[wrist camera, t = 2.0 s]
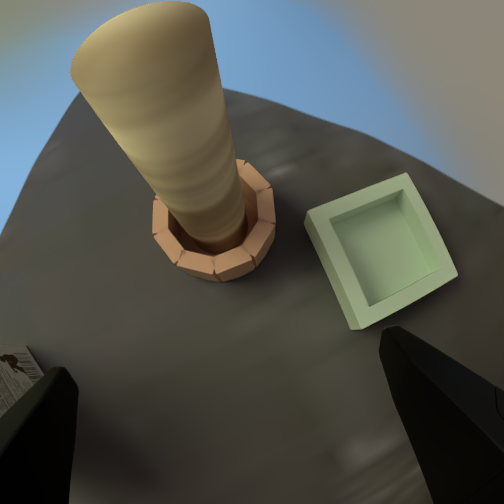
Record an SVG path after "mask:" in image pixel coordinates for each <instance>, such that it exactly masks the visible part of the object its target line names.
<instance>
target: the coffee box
mask: <svg viewBox="0 0 504 504" xmlns="http://www.w3.org/2000/svg"><path fill="white" fill-rule="evenodd" d="M43 376H44V373H43V372H42V370H41V369H40V367H39V366H38V364H37V363H36V361H35V360H34V358H33V357H32V355H31V354H30V352H29V350H28V349H27V347H26V346H25V345H6V344H0V417H1V416H2V415H3V414H4V413H5V412H6V411H7V410H8V409H9V408H10V407H11V406H12V405H13V404H14V403H15V402H16V401H17V400H19V399H20V398H21V397H22V396H23V395H24V394H25V393H26V392H27V391H28V390H29V389H30V388H31V387H32V386H33V385H34V384H35V383H36V382H37V381H38V380H39V379H40V378H41V377H43Z"/></svg>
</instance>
